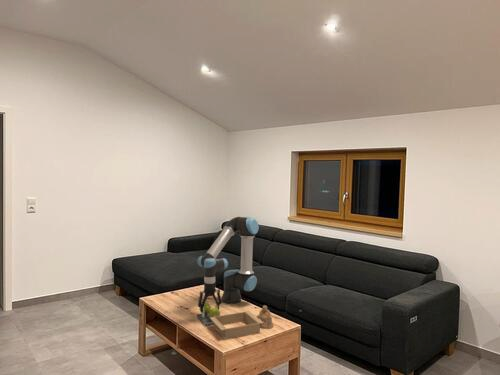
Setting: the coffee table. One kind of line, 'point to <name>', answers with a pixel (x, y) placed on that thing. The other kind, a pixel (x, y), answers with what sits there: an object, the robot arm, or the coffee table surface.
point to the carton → (234, 318)
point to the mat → (205, 319)
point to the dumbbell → (210, 310)
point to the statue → (265, 318)
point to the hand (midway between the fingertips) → (209, 315)
